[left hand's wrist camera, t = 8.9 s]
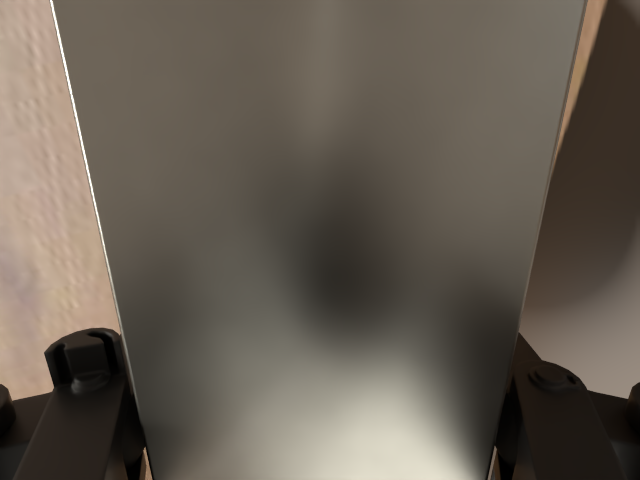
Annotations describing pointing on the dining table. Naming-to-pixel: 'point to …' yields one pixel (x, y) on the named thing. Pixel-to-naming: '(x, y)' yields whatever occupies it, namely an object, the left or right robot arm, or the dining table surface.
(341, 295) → the bar
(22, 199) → the dining table surface
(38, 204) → the dining table surface
